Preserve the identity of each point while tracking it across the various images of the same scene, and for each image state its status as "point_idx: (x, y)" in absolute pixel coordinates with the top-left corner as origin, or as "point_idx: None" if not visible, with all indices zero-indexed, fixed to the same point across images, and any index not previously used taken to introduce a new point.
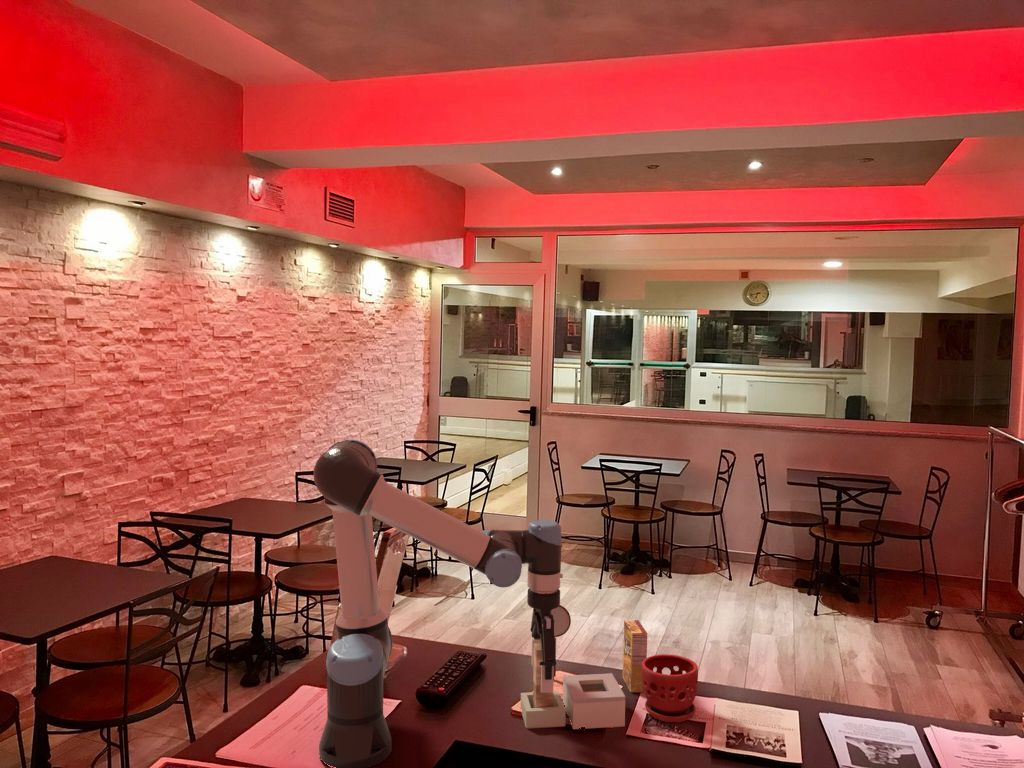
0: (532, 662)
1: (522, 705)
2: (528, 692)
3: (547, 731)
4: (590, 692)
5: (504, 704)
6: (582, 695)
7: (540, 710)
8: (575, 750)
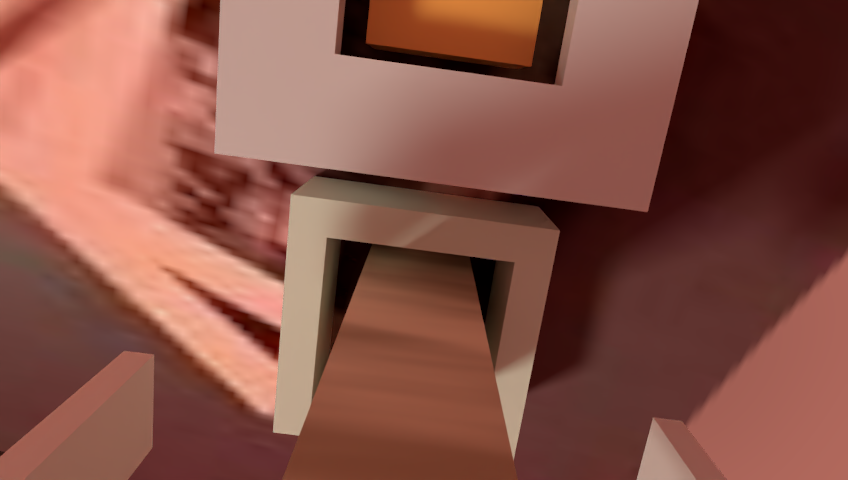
0: (135, 467)
1: None
2: (277, 388)
3: (559, 312)
4: (581, 24)
5: (229, 440)
6: (610, 116)
7: (526, 383)
8: (787, 234)
